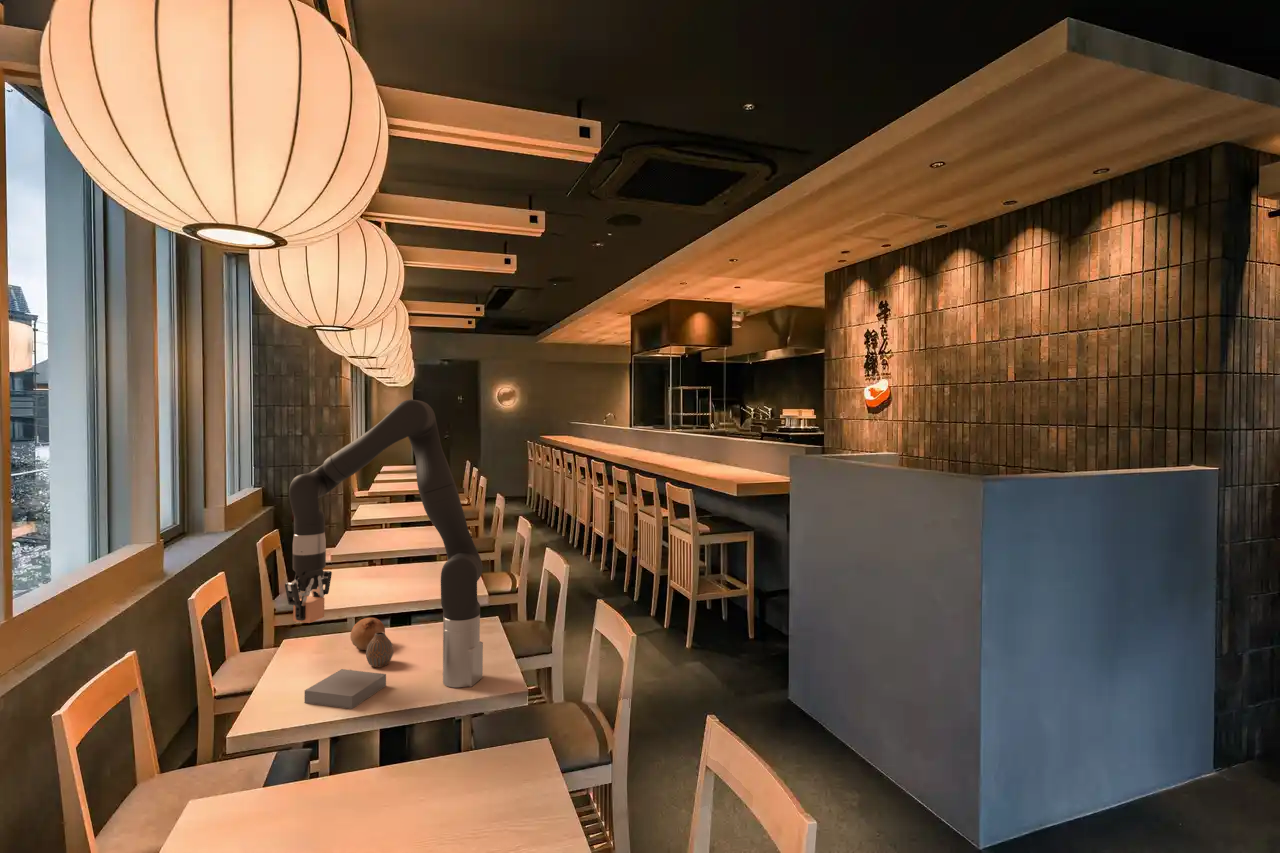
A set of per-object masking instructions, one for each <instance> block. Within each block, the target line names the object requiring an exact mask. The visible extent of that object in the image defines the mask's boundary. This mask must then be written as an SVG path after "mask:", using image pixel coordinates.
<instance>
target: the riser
mask: <svg viewBox="0 0 1280 853" xmlns="http://www.w3.org/2000/svg"><path fill="white" fill-rule="evenodd" d="M386 686H387V674H386V673H381V672H380V673H379V672H371V671H362V670H356V669H355V670H353V669H345V668H341V669H339V670H337V671H336V672H334V673H332V674H331V675H329V676H327V677H326V678H324V679H322V680H319V681H318V682H317V683H315V684H313V685H311V686H310V687H308V688H306V689H304V703H305V704H310V705H311V704H312V705H319V706H327V707H334V708H342V709H349V710H353V709H354V708H355V707H357V706H359V705H360V704H362V703H363V702H364V701H366V700H368V699H369V698H370V697H371V696H373V695H375V694H376V693H378V692H379V691H380V690H382V689H384V688H385V687H386Z"/></svg>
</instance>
